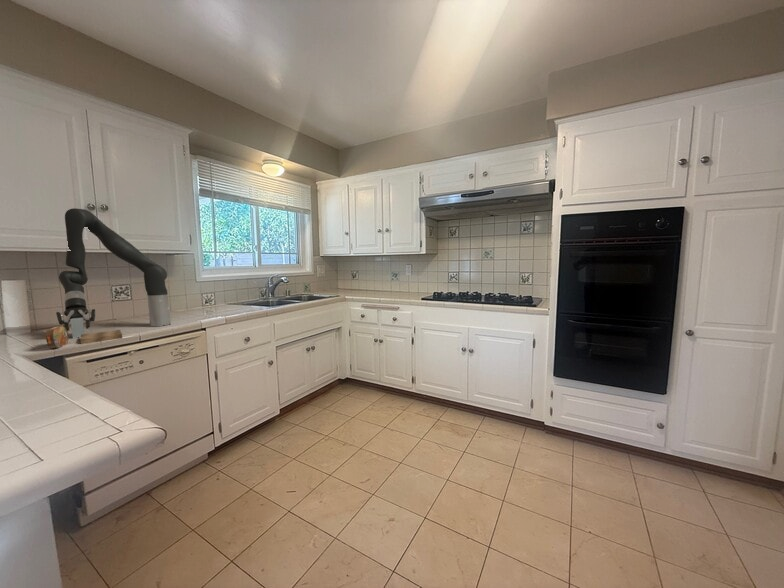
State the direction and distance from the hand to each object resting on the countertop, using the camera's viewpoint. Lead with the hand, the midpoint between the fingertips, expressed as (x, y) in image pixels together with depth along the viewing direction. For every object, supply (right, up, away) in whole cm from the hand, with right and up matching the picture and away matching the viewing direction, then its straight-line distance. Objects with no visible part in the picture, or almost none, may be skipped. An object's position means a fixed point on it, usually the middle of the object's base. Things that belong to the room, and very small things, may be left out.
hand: (77, 328), depth 153 cm
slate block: (-1, -4, +2) cm, 5 cm away
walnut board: (+14, -4, -2) cm, 14 cm away
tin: (+7, -6, -15) cm, 18 cm away
